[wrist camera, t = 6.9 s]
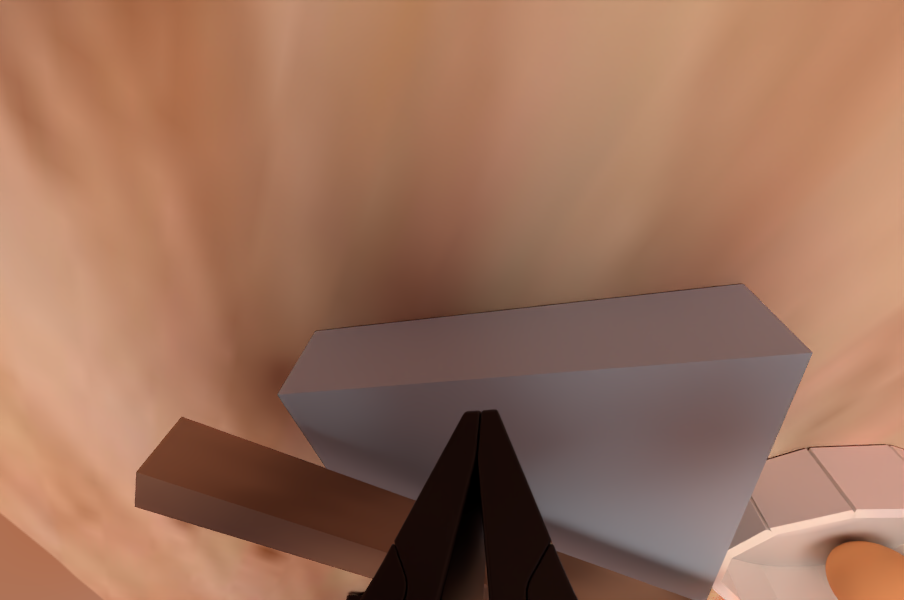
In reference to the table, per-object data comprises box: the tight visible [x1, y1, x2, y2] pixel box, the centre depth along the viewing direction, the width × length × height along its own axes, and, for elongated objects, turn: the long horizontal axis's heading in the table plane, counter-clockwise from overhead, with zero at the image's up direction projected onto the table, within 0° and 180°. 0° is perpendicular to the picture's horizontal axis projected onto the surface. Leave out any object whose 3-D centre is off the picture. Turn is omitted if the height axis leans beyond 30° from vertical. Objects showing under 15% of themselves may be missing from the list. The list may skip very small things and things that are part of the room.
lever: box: [135, 417, 692, 600], centre depth 12 cm, size 22×3×2 cm, turn 62°
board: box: [277, 284, 812, 600], centre depth 15 cm, size 16×14×4 cm
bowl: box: [712, 445, 904, 600], centre depth 17 cm, size 10×10×2 cm
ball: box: [825, 541, 904, 600], centre depth 17 cm, size 3×3×3 cm
